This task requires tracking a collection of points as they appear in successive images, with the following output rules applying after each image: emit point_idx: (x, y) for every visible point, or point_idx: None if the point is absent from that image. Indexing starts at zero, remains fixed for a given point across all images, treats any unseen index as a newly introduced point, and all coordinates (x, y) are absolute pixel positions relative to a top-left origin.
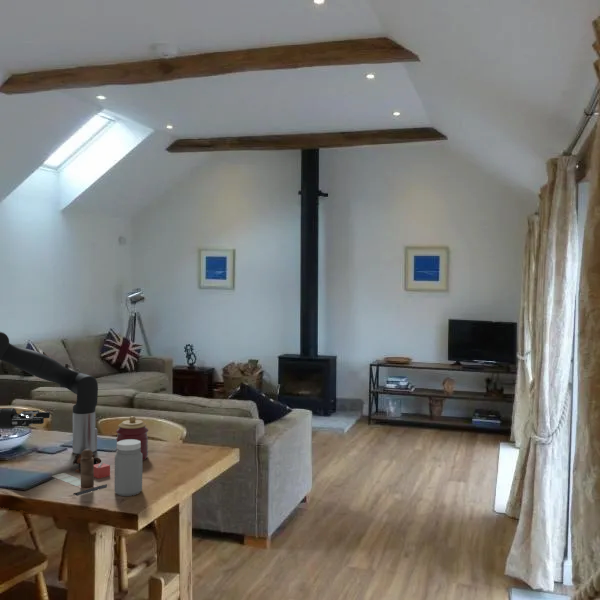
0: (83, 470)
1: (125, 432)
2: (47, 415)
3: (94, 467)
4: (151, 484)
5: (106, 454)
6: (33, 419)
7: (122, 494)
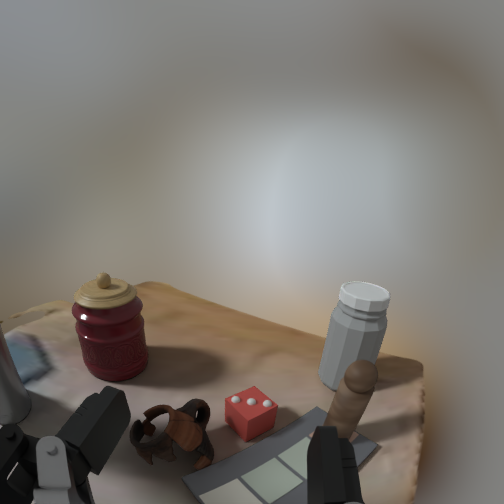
0: (364, 410)
1: (126, 314)
2: (122, 415)
3: (263, 414)
4: (298, 356)
5: (59, 385)
6: (356, 493)
7: None
